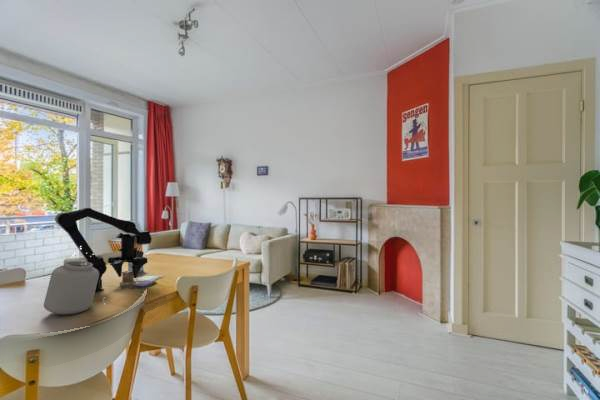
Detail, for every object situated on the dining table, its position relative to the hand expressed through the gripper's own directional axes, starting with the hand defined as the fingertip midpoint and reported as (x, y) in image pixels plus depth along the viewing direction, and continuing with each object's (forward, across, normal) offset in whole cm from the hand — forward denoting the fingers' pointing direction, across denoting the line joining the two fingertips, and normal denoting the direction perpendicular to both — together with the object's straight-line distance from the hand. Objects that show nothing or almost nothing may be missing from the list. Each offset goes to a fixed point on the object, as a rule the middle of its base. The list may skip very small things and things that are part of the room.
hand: (127, 277), depth 144 cm
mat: (+4, -2, -11) cm, 12 cm away
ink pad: (+4, -9, -1) cm, 10 cm away
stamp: (+4, 0, 0) cm, 4 cm away
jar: (+4, -7, +32) cm, 33 cm away
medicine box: (+4, +13, -19) cm, 23 cm away
